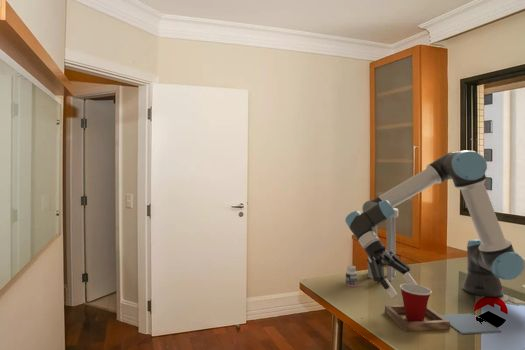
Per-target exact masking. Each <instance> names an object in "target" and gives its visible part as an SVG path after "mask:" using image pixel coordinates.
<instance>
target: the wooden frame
mask: <svg viewBox="0 0 525 350" xmlns="http://www.w3.org/2000/svg"><path fill="white" fill-rule="evenodd" d="M384 313H385V314H386V315H387V316H389V318H391V319H392V320H393V321H394V323H396V325H398V326H399V327H400V328H401V329H403V330H404V332H418V331H420V332H421V331H422V332H423V331H434V330H435V331H437V330H440V331H441V330H451V326H450V321H448V320H447V319H445V318H444V317H443V316H441V315H442V314H440V313H438V312H437V311H436V310H434V309H432V308H431V307H430V306H428V305H427V308H426V313H425V315H426V316H428V317H429V318H430V319H432V320H424V321H416V322H410V321H408V320H407V319H405V318H403V317H402V316H401V315H400V314H405V309H404V304H394V305H384Z"/></svg>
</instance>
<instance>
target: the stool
mask: <svg viewBox="0 0 525 350" xmlns="http://www.w3.org/2000/svg"><path fill="white" fill-rule="evenodd" d="M393 209H394V211H395V214H394V215H393V216H392V217H390V218H389V219H387V220H386V250H385V251H386V252H387V253H389V252H390V251H392V252H393V253H394V254H395V256H397V254H396V252H397V251H396V248H397V247H396V244H397V242H396V240H397V238H396V237H397V236H396V235H397V234H396V228H397V227H396V226H397V225H396V218H398V217H399V209H398V208H396V207H393ZM372 230H373V231H374V232H375V233H376V235H377V236H378V225H377V226H375V227H374V228H372ZM368 258H369V256H368V255H367V259H368ZM390 261H391V260H390ZM396 274H397V270H396V269H394V268H393V267H391V266H388V265H387V266H386V278H387V280H388V281H389V282H392V281H393V277H396ZM367 277H370V278H369V279H373V275H372V272H371V268H370V265H369V263H368V262H367Z"/></svg>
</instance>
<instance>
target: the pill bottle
mask: <svg viewBox="0 0 525 350" xmlns="http://www.w3.org/2000/svg"><path fill="white" fill-rule="evenodd" d="M345 284H346V285H345V286H347V287H350V286H351V287H355V288H356V287H357V286H358V272H357V266H355V265H347V267H346V271H345Z"/></svg>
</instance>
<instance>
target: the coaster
mask: <svg viewBox="0 0 525 350" xmlns="http://www.w3.org/2000/svg"><path fill="white" fill-rule="evenodd" d="M472 314H473V315H472ZM472 314H471V313H453V314H451V313H450V314H440V315H441V316H443V317H444V318H445V319H447V320H448V321H450V327H451V326H452V327H451V328H453V329H454V330H455V329H456V330H455V331H457V332H458V331H459V334H461V335H470V334H471V335H473V334H488V332H491V333H502V330H501V329H499V327H498V328H497V326H495V325H493V324H491V323H489V322H488V321H486V320H485V321H486V322H485V321H483V322H481V323H482V324H481V323H480V322H479V321H476V317H474V316H475V315H476V314H475V315H474V313H473V312H472ZM476 316H477V317H478V318H481V317H480V316H478V315H476Z"/></svg>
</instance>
